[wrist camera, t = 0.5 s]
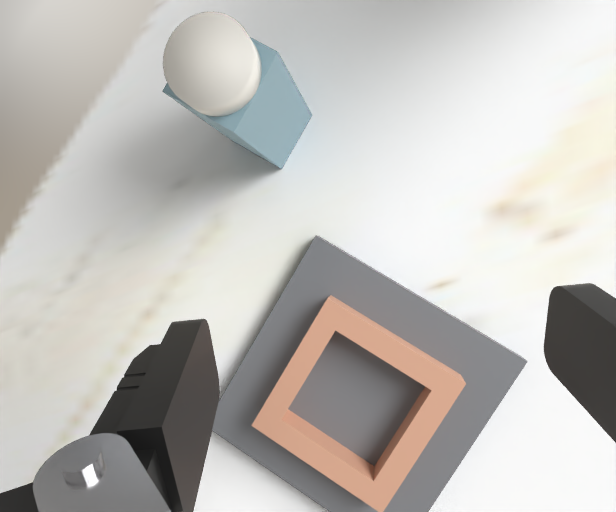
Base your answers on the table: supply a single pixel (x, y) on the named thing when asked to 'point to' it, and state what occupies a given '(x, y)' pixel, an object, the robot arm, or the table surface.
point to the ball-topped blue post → (235, 85)
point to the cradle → (362, 388)
